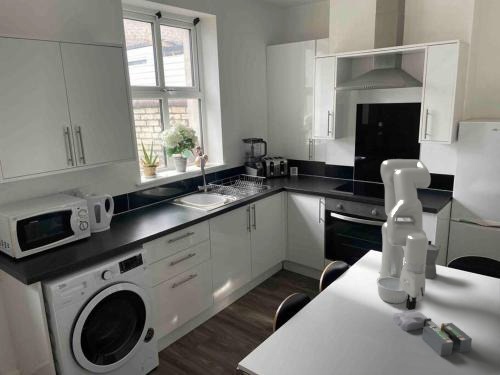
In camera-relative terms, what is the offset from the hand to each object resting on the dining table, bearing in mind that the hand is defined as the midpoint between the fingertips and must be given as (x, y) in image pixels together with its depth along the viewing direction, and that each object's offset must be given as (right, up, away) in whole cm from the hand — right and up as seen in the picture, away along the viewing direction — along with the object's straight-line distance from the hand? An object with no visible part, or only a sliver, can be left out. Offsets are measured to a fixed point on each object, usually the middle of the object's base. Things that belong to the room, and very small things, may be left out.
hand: (410, 308), depth 151 cm
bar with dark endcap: (+6, -7, -8) cm, 12 cm away
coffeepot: (+24, +4, +41) cm, 48 cm away
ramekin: (0, -2, +20) cm, 20 cm away
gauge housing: (+7, -9, -13) cm, 17 cm away
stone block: (0, -6, +1) cm, 7 cm away
